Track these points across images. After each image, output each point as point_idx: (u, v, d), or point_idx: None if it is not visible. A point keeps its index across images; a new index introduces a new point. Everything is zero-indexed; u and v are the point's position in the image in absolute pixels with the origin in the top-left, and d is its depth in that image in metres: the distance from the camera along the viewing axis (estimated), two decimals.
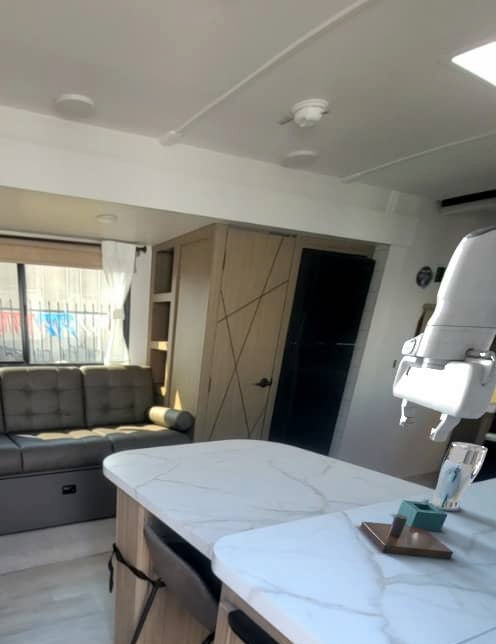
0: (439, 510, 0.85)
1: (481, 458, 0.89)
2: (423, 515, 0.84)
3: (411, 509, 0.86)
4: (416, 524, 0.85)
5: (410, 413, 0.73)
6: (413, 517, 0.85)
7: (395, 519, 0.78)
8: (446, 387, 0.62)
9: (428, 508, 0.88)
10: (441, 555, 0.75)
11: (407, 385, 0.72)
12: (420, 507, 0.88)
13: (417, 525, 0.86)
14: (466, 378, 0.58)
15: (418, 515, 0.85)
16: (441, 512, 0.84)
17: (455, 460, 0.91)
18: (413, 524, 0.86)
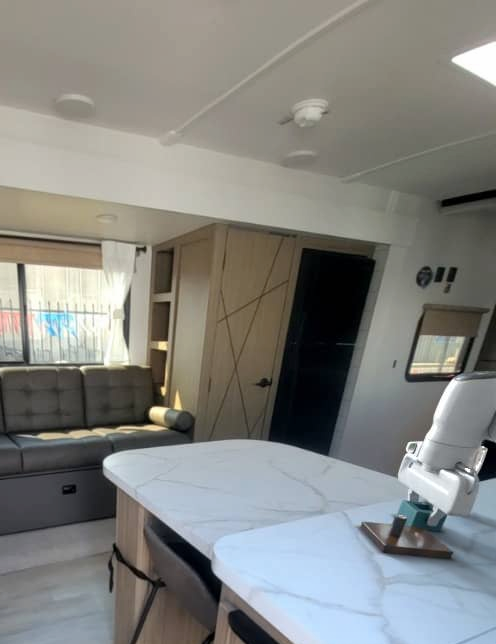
0: None
1: (481, 458, 0.89)
2: (423, 515, 0.84)
3: (411, 509, 0.86)
4: (416, 524, 0.85)
5: (415, 499, 0.90)
6: (413, 517, 0.85)
7: (395, 519, 0.78)
8: (440, 489, 0.80)
9: (428, 508, 0.88)
10: (441, 555, 0.75)
11: (410, 477, 0.90)
12: (420, 507, 0.88)
13: (417, 525, 0.86)
14: (455, 488, 0.76)
15: (418, 515, 0.85)
16: None
17: None
18: (413, 524, 0.86)
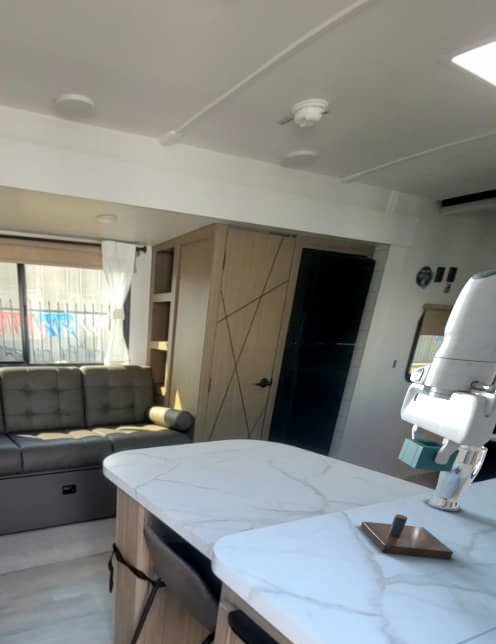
0: None
1: (481, 458, 0.89)
2: (430, 452, 0.71)
3: (416, 446, 0.73)
4: (422, 463, 0.72)
5: (420, 438, 0.77)
6: (418, 455, 0.72)
7: (395, 519, 0.78)
8: (452, 415, 0.66)
9: (436, 446, 0.74)
10: (441, 555, 0.75)
11: (415, 411, 0.76)
12: (426, 446, 0.75)
13: (423, 464, 0.72)
14: (471, 409, 0.62)
15: (424, 452, 0.71)
16: None
17: (455, 460, 0.91)
18: (418, 463, 0.72)
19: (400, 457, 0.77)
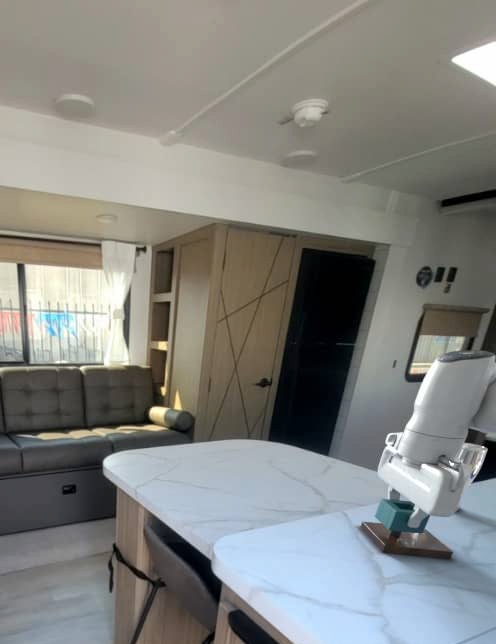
0: None
1: (481, 458, 0.89)
2: (403, 515, 0.75)
3: (390, 508, 0.77)
4: (395, 525, 0.76)
5: (395, 497, 0.81)
6: (392, 518, 0.76)
7: None
8: (421, 485, 0.70)
9: (409, 508, 0.78)
10: (441, 555, 0.75)
11: (390, 472, 0.80)
12: (401, 506, 0.79)
13: (396, 527, 0.76)
14: (437, 484, 0.66)
15: (397, 515, 0.75)
16: None
17: None
18: (392, 525, 0.76)
19: (376, 516, 0.81)
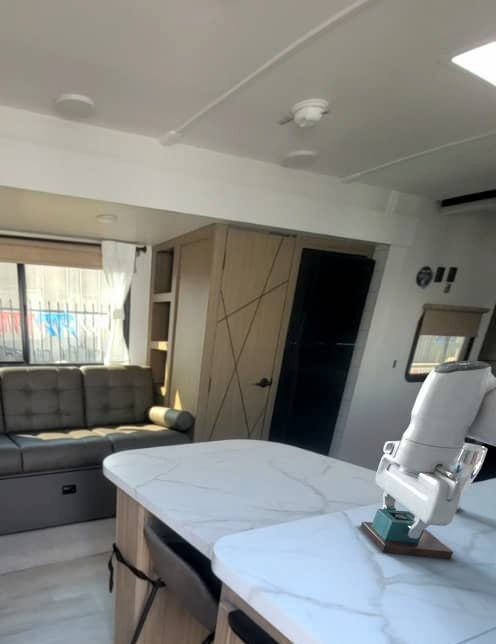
0: None
1: (481, 458, 0.89)
2: (399, 526, 0.76)
3: (386, 519, 0.78)
4: (391, 536, 0.77)
5: (390, 503, 0.82)
6: (388, 528, 0.77)
7: None
8: (419, 494, 0.71)
9: None
10: (441, 555, 0.75)
11: (388, 480, 0.81)
12: None
13: (393, 537, 0.77)
14: (434, 493, 0.67)
15: (393, 526, 0.76)
16: None
17: None
18: (388, 536, 0.77)
19: (373, 525, 0.82)
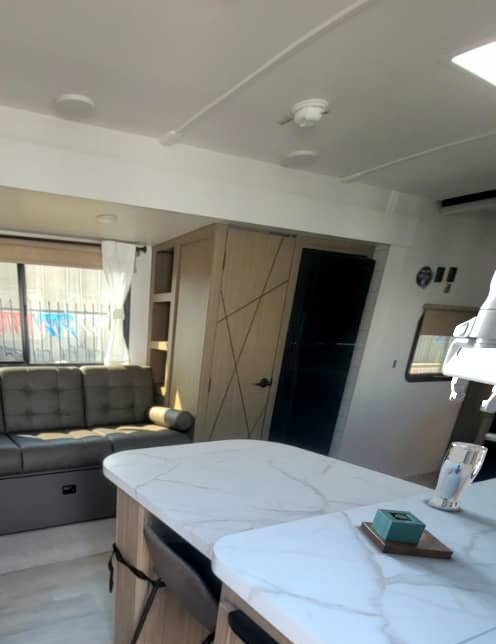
0: (417, 520, 0.77)
1: (481, 458, 0.89)
2: (399, 526, 0.76)
3: (386, 519, 0.78)
4: (391, 536, 0.77)
5: (459, 389, 0.83)
6: (388, 528, 0.77)
7: None
8: None
9: None
10: (441, 555, 0.75)
11: (458, 364, 0.81)
12: None
13: (393, 537, 0.77)
14: None
15: (393, 526, 0.76)
16: (419, 522, 0.76)
17: (455, 460, 0.91)
18: (388, 536, 0.77)
19: (373, 525, 0.82)
